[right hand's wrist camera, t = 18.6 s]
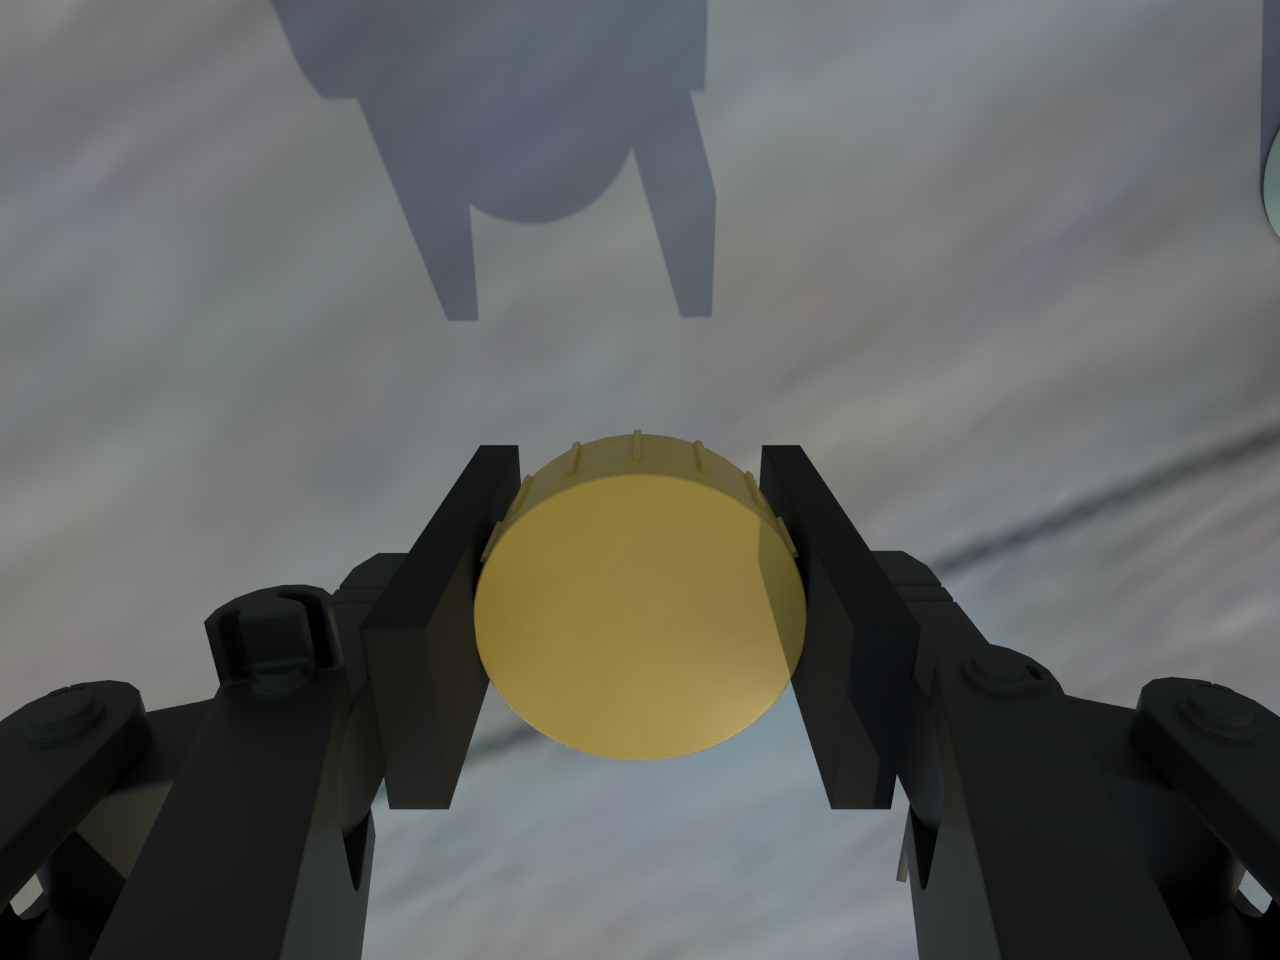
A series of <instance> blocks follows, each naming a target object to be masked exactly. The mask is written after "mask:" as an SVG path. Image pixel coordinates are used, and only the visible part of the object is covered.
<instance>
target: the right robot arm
mask: <svg viewBox="0 0 1280 960" xmlns="http://www.w3.org/2000/svg"><path fill="white" fill-rule="evenodd" d="M520 487H521V480H520V464H519V449H518V445H480V447H479V448H478V450H477V451H476V453H475V454H474V456H473V457H472V459H471V460H470V462H469V463H468V465H467V466H466V468H465V469H464V471H463V472H462V474H461V475H460V477H459V478H458V480H457V481H456V483H455V484H454V486H453V487H452V489H451V490H450V492H449V493H448V495H447V496H446V498H445V499H444V501H443V502H442V504H441V505H440V507H439V508H438V510H437V511H436V513H435V514H434V516H433V517H432V519H431V520H430V522H429V523H428V525H427V526H426V528H425V529H424V531H423V532H422V534H421V535H420V537H419V538H418V540H417V541H416V543H415V544H414V546H413V547H412V549H411V550H410V551H409V553H378V554H376V555H374V556H373V557H371V558H370V559H368V560H366V561H365V562H363V563H361V564H360V565H358V566H357V567H355V568H353V570H352V571H351V572H350V573H349V575H348V576H347V577H346V579H345V580H344V581H343V582H342V584H341V585H340V589H339V590H336V591H335V592H334V594H333V595H331V594H329V593H328V592H327V591H325V590H324V589H322V588H319V587H314V586H309V585H281V586H276V587H271V588H266V589H260V590H257V591H254V592H251V593H249V594H246V595H243V596H240V597H238V598H235V599H233V600H232V601H230V602H228V603H226V604H225V605H223V606H221V607H220V608H218V609H216V610H215V611H214V612H213V613H212V614H211V615H210V616H209V617H208V618H207V619H206V621H205V622H204V624H205V628H206V632H207V636H208V639H209V643H210V647H211V651H212V655H213V659H214V662H215V666H216V670H217V674H218V678H219V681H220V687H219V689H218V691H217V693H216V695H215V697H214V698H212V699H209V700H205V701H201V702H196V703H191V704H186V705H181V706H176V707H171V708H166V709H160V710H155V711H150V712H146V711H145V707H144V704H143V701H142V698H141V695H140V692H139V690H138V689H136V688H135V687H134V686H132V685H131V684H130V683H127V682H119V681H112V680H106V681H97V682H88V683H80V684H75V685H71V687H64V688H61V689H58V690H55V691H53V692H50V693H49V694H48V695H46V696H44V697H41V698H39V699H37V700H35V701H32V702H30V703H28V704H26V705H25V706H23V707H22V708H20V709H19V710H17V711H16V712H14V713H12V714H11V715H9V716H8V717H6V718H5V719H3V720H2V721H1V722H0V960H361V956H362V947H363V938H364V930H365V921H366V913H367V904H368V896H369V887H370V878H371V870H372V861H373V853H374V844H375V836H376V835H375V829H374V822H373V816H372V811H371V804H372V802H373V800H374V797H375V795H376V793H377V791H378V789H379V786H380V784H381V782H382V780H383V777H384V779H385V785H386V790H387V796H388V802H389V808H390V809H449V807H450V804H451V801H452V798H453V795H454V791H455V788H456V785H457V782H458V779H459V776H460V773H461V769H462V766H463V763H464V760H465V757H466V754H467V750H468V747H469V744H470V741H471V738H472V735H473V732H474V728H475V725H476V722H477V719H478V716H479V713H480V709H481V706H482V703H483V700H484V697H485V694H486V691H487V687H488V684H489V681H490V679H489V677H488V675H487V673H486V671H485V668H484V666H483V664H482V662H481V659H480V656H479V652H478V649H477V643H476V634H475V624H474V612H473V602H474V597H475V591H476V586H477V582H478V579H479V576H480V573H481V571H482V568H483V565H484V563H483V562H480V559H481V556H482V554H483V552H484V550H485V548H486V545H487V543H488V541H489V539H490V537H491V534H492V532H493V530H494V528H495V526H496V523H497V521H499V522H503V519H504V517H505V515H506V513H507V511H508V509H509V507H510V506H511V504H512V502H513V500H514V499H515V497H516V496H517V494H518V492H519V490H520ZM759 490H760V491H761V493H762V494H763V495H764V496H765V498H766V500H767V501H768V503H769V505H770V507H771V508H772V510H773V512H774V514H775V516H776V518H778V517H782V520H783V522H784V524H785V526H786V528H787V531H788V533H789V535H790V537H791V539H792V542H793V544H794V546H795V548H796V550H797V553H798V555H799V557H796V558H794V560H795V562H796V565H797V567H798V570H799V572H800V575H801V577H802V581H803V585H804V590H805V594H806V600H807V618H806V628H805V638H804V646H803V651H802V654H801V657H800V660H799V662H798V665H797V667H796V670H795V672H794V674H793V676H792V677H791V679H790V680H791V683H792V686H793V689H794V692H795V696H796V699H797V702H798V705H799V708H800V711H801V714H802V718H803V721H804V724H805V727H806V730H807V733H808V737H809V740H810V743H811V746H812V749H813V752H814V755H815V759H816V762H817V765H818V768H819V771H820V774H821V777H822V781H823V784H824V787H825V790H826V793H827V796H828V800H829V803H830V806H831V809H891V805H892V799H893V793H894V787H895V781H896V775H898V777H899V780H900V782H901V784H902V786H903V788H904V791H905V793H906V795H907V797H908V799H909V802H910V805H909V811H908V816H907V822H906V827H905V833H904V838H903V844H902V849H901V855H900V860H899V866H898V872H897V879H896V881H901V882H906V878H907V873H908V868H909V877H910V885H911V894H912V902H913V911H914V919H915V928H916V937H917V945H918V954H919V960H1280V717H1279V716H1278V715H1276V714H1274V713H1273V712H1271V711H1270V710H1268V709H1267V708H1265V707H1264V706H1262V705H1261V704H1259V703H1258V702H1256V701H1254V700H1252V699H1250V698H1248V697H1245V696H1243V695H1241V694H1239V693H1236V692H1234V691H1233V690H1232V689H1230V688H1228V687H1224V686H1221V685H1218V684H1215V683H1214V684H1211V682H1207V681H1203V680H1197V679H1186V678H1177V677H1169V678H1161V679H1154V680H1152V681H1150V682H1149V683H1148V684H1146V685H1145V686H1144V687H1142V690H1141V693H1140V697H1139V700H1138V703H1137V706H1136V709H1131V708H1126V707H1121V706H1116V705H1110V704H1105V703H1100V702H1095V701H1090V700H1085V699H1080V698H1076V697H1072V696H1068V695H1065V694H1064V692H1063V690H1062V687H1061V685H1060V684H1059V682H1058V681H1057V680H1056V679H1055V677H1054V676H1053V675H1052V674H1051V672H1050V671H1049V670H1048V669H1046V668H1045V667H1044V666H1042V665H1041V664H1039V663H1038V662H1036V661H1035V660H1033V659H1032V658H1030V657H1028V656H1026V655H1023V654H1021V653H1019V652H1016V651H1014V650H1011V649H1009V648H1005V647H1001V646H997V645H992V644H989V643H988V641H987V640H986V639H985V638H984V636H983V635H982V634H981V633H980V631H979V630H978V629H977V628H976V626H975V625H974V624H973V623H972V621H971V620H970V619H969V618H968V616H967V615H966V614H965V613H964V611H963V610H962V609H961V608H960V606H959V605H958V604H957V603H956V602H953V598H952V596H951V595H950V594H949V593H948V591H947V590H946V589H945V588H944V587H941V583H940V581H939V580H938V579H937V578H936V576H935V575H934V574H933V573H932V571H931V570H930V569H929V568H928V566H926V565H925V564H923V563H922V562H920V561H918V560H917V559H915V558H913V557H912V556H910V555H908V554H907V553H905V552H904V551H870V549H869V548H868V546H867V545H866V543H865V542H864V540H863V539H862V537H861V536H860V534H859V533H858V531H857V530H856V528H855V527H854V525H853V524H852V522H851V521H850V519H849V518H848V516H847V515H846V513H845V512H844V510H843V509H842V507H841V506H840V505H839V503H838V502H837V500H836V499H835V497H834V496H833V494H832V493H831V491H830V490H829V488H828V487H827V485H826V484H825V482H824V481H823V479H822V478H821V476H820V475H819V473H818V472H817V470H816V469H815V467H814V466H813V464H812V463H811V461H810V460H809V458H808V457H807V455H806V454H805V452H804V451H803V449H802V448H801V446H800V445H762V456H761V471H760V486H759ZM1246 870H1248V871H1249V873H1250V874H1251V875H1252V876H1253V877H1254V878H1255V879H1256V880H1257V881H1258V883H1259V884H1260V885H1261V886H1262V887H1263V888H1264V889H1265V890H1266V891H1267V892H1268V894H1269V895H1270V896H1271V897H1272V898H1273V899H1272V901H1271V903H1270V905H1269V907H1268V909H1267V911H1266V912H1265V913H1264V914H1263V913H1261V912H1260V911H1259V910H1258V909H1257V908H1256V907H1255V906H1254V905H1252V904H1251V903H1250V901H1249V900H1248V899H1247V898H1246V897H1245V896H1244V895H1243V893H1242V892H1241V891H1240V890H1239V889H1238V888H1239V886H1240V884H1241V881H1242V879H1243V877H1244V874H1245V872H1246ZM35 873H36V875H37V877H38V880H39V882H40V884H41V887H42V889H43V892H42V894H41V895H40V896H39V897H38V898H37V899H36V901H35V902H34V903H33V904H32V905H31V906H30V907H29V908H28V909H26V910H25V911H24V912H23V913H22V914H20V915H19V916H18V915H17V914H16V913H15V912H14V910H13V908H12V906H11V904H10V901H11V900H12V899H13V897H14V896H15V895H16V894H17V893H18V892H19V891H20V890H21V889H22V887H23V886H24V885H25V884H26V883H27V882H28V881H29V880H30V879H31V877H32V876H33V875H34V874H35Z"/></svg>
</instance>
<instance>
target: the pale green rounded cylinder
mask: <svg viewBox="0 0 1280 960" xmlns="http://www.w3.org/2000/svg"><path fill="white" fill-rule="evenodd" d="M1263 193H1264V203H1265V209H1266V213H1267V216H1268V219H1269V222H1270V224H1271V226H1272V227H1273V229H1274V231H1275V233H1276V234H1277V235H1278V236H1279V238H1280V129H1279V131H1278V133H1277V135H1276V137H1275V139H1274V142H1273V144H1272V147H1271V150H1270V153H1269V156H1268V159H1267V164H1266V168H1265V173H1264V184H1263Z"/></svg>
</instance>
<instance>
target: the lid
mask: <svg viewBox="0 0 1280 960" xmlns="http://www.w3.org/2000/svg"><path fill="white" fill-rule="evenodd" d="M796 557H799V555H798V553H797V550H796V548H795V546H794V544H793V542H792V539H791V537H790V535H789V533H788V531H787V528H786V526H785V524H784V522H783V520H782V517H778V518H776V516H775V514H774V512H773V510H772V508H771V507H770V505H769V503H768V501H767V500H766V498H765V496H764V495H763V494H762V493H761V491H760V490H759V489H758V487H757V484H756V482H755V480H754V477H753V475H752V474H751V473H750V472H749V471H747V472H746V473H745V474H744V473H743V472H742V471H741V470H740V469H739V468H737V467H736V466H735V465H733V464H732V463H731V462H729V461H728V460H726V459H725V458H724V457H722V456H720V455H718V454H716V453H714V452H712V451H710V450H709V449H707V448H704V447H703V443H702V442H701V441H699V440H696V441H695V443H691V442H688V441H685V440H680V439H676V438H672V437H667V436H658V435H649V434H641V430H634V435H622V436H615V437H608V438H604V439H600V440H596V441H593V442H589V443H586V444H584V445H580V443H579V442H577V443H574V444H573V446H572V449H571V450H569V451H568V452H566V453H564V454H562V455H561V456H559V457H557V458H556V459H554V460H552V461H551V462H550V463H548V464H547V465H546V466H544V467H543V468H542V469H541V470H539V471H538V472H537V473H536V474H535V475H534V476H533V477H531V476H530V475H529V474H528V475H527V476H526V477H525V478H524V480H523V483H522V485H521V487H520V490H519V492H518V494H517V496H516V497H515V499H514V500H513V502H512V504H511V506H510V507H509V509H508V511H507V513H506V515H505V517H504V519H503V522H499V521H497V523H496V526H495V528H494V530H493V532H492V534H491V537H490V539H489V541H488V543H487V545H486V548H485V550H484V552H483V554H482V556H481V559H480V562H483V563H484V565H483V568H482V571H481V573H480V576H479V579H478V582H477V586H476V591H475V597H474V602H473V612H474V624H475V634H476V643H477V649H478V652H479V656H480V659H481V662H482V664H483V666H484V668H485V671H486V673H487V675H488V677H489V679H490V680H491V682H492V683H493V685H494V687H495V688H496V690H497V692H498V693H499V694H500V695H501V697H502V698H503V699H504V700H505V701H506V703H507V704H508V705H509V706H510V707H511V708H512V709H513V710H514V711H515V712H516V713H517V714H518V715H519V716H520V717H521V718H522V719H523V720H525V721H526V722H527V723H529V724H530V725H531V726H533V727H534V728H535V729H537V730H538V731H540V732H541V733H543V734H545V735H547V736H548V737H550V738H552V739H554V740H555V741H557V742H560V743H562V744H564V745H567V746H569V747H571V748H574V749H577V750H580V751H583V752H586V753H590V754H593V755H598V756H603V757H608V758H613V759H624V760H657V759H665V758H673V757H678V756H682V755H687V754H691V753H694V752H697V751H700V750H703V749H706V748H709V747H712V746H714V745H716V744H718V743H720V742H723V741H725V740H727V739H729V738H731V737H732V736H734V735H735V734H737V733H739V732H740V731H742V730H744V729H745V728H747V727H748V726H749V725H750V724H752V723H753V722H754V721H755V720H757V719H758V718H759V717H761V716H762V715H763V714H764V713H765V712H766V711H767V709H768V708H769V707H770V706H771V705H772V704H773V703H774V702H775V701H776V700H777V698H778V697H779V696H780V694H781V693H782V692H783V690H784V689H785V688H786V686H787V684H788V683H789V681H790V679H791V677H792V676H793V674H794V672H795V670H796V667H797V665H798V662H799V660H800V657H801V654H802V651H803V646H804V638H805V628H806V618H807V600H806V594H805V590H804V585H803V581H802V577H801V575H800V572H799V570H798V567H797V565H796V562H795V560H794V558H796Z"/></svg>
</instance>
